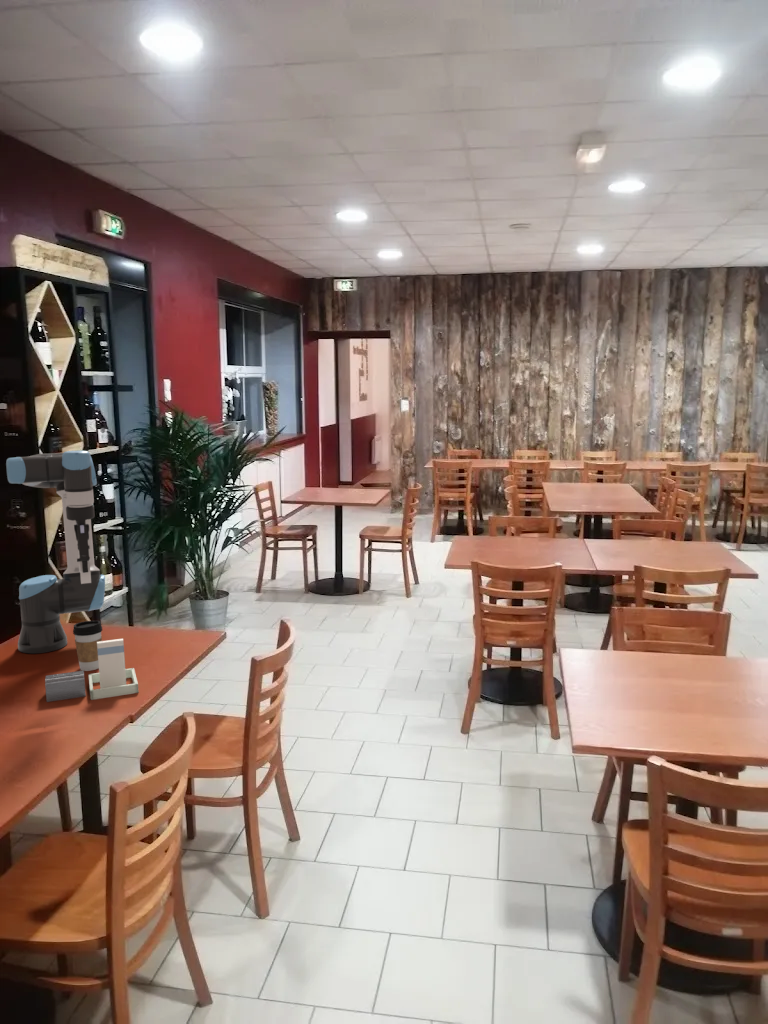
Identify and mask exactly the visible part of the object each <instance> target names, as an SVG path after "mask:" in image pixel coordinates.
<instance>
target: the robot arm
mask: <svg viewBox="0 0 768 1024" xmlns="http://www.w3.org/2000/svg"><path fill="white" fill-rule="evenodd" d="M5 466H6V476H7V477H6V478H7V482H8V483H9V484H13V485H14V484H18V485H21V484H22V485H24V486H28V487H32V488H38V489H39V488H41V489H52V488H53V489H55V491H56V495H58V496H59V497H60V498H61V504H62V515H63V517H62V519H63V527H64V539H65V541H64V542H65V551H66V564H67V567H66V569H65V570H64V572H63V574H62V575H63V578H60V579H59V578H58V577H57V575H54V574H45V575H44V574H43V575H38V576H36V577H31V578H28V579H26V580H24V581H23V582H21V583H20V585H19V586H18V587H19V588H18V592H19V596H18V599H19V604H20V605H19V607H20V617H21V629H20V634H19V637H18V641H17V649H18V651H19V652H21V653H24V654H43V653H49V652H55V651H57V650H60V649H62V648H64V647H66V646H67V645H68V637H67V634H66V631H65V629H64V627H63V625H62V623H61V620H60V619H61V617H60V616H61V615H63V614H72V613H81V612H90V611H94V610H95V611H96V610H100V609H102V608H103V606H104V603H105V594H106V593H105V591H106V576H105V574H101V570H100V568H98V567H97V566H96V565H95V558H94V557H95V555H94V544H93V543H94V541H93V530H92V519H94V518H95V517H96V516H95V505H94V503H95V499H94V488H93V487H95V486H96V485H98V481H97V476H96V475H97V474H96V469H95V466H94V462H93V458H92V456H91V453H90V452H89V451H88V450H79V449H77V450H67V451H63V452H54V453H52V452H51V453H38V454H33V455H30V456H29V455H28V456H16V457H8V458H7V459H6V463H5Z"/></svg>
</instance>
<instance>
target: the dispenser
mask: <svg viewBox="0 0 768 1024" xmlns="http://www.w3.org/2000/svg"><path fill="white" fill-rule="evenodd" d="M44 683H45V684H44V686H45V687H44V688H45V700H46V703H49V702H56V701H63V700H69V699H76V698H84V697H87V695H86V681H85V671H84V670H78V671H72V672H71V671H70V672H62V673H56V674H55V673H54V674H48V675H45V679H44Z"/></svg>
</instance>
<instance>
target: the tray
mask: <svg viewBox="0 0 768 1024" xmlns="http://www.w3.org/2000/svg"><path fill="white" fill-rule="evenodd" d="M125 671H126V679H129V678H131V680H132V683H130V684H129V683H128V684H126V685H121V686H114V687H108V688H101V689H100V688H96V689H94V686H93V685H94V684H95V683H100V677H99V672H96V673H95V672H93V673H88V684H89V685H88V686H89V696H90V700H91V701H93V700H100V699H105V698H112V697H119V696H124V695H125V696H126V695H132V694H139V691H140V689H139V682H138V678H137V675H136V670H135V668H134V667H131V668H125Z"/></svg>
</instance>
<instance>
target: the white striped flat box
mask: <svg viewBox="0 0 768 1024" xmlns="http://www.w3.org/2000/svg"><path fill="white" fill-rule="evenodd" d="M124 643H125V642H124V638H117V639H109V640H108V639H107V640H102V641H99V642H97V650H98V664H99V668H98V673H99V677H100V682H99V687H100V688H99V689H101V688H108V687H114V686H121V685H127V678H126V671H125V669H126V659H125V644H124Z"/></svg>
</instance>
